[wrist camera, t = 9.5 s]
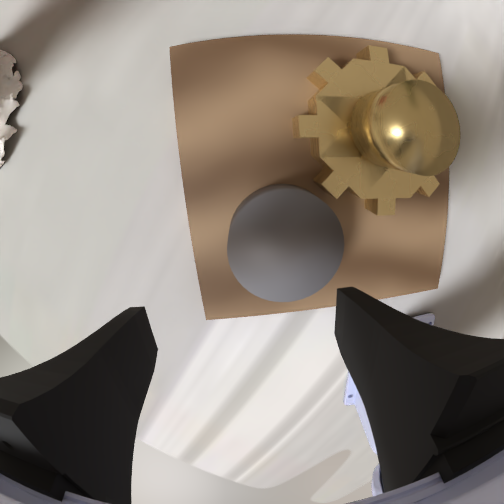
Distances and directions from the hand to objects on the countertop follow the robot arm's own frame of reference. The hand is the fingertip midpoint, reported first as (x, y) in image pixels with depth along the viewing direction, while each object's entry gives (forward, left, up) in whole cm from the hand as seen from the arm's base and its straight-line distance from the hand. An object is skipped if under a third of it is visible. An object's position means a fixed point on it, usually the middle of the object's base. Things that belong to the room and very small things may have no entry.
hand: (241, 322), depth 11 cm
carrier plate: (+4, -6, -9) cm, 12 cm away
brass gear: (+7, -9, -8) cm, 14 cm away
